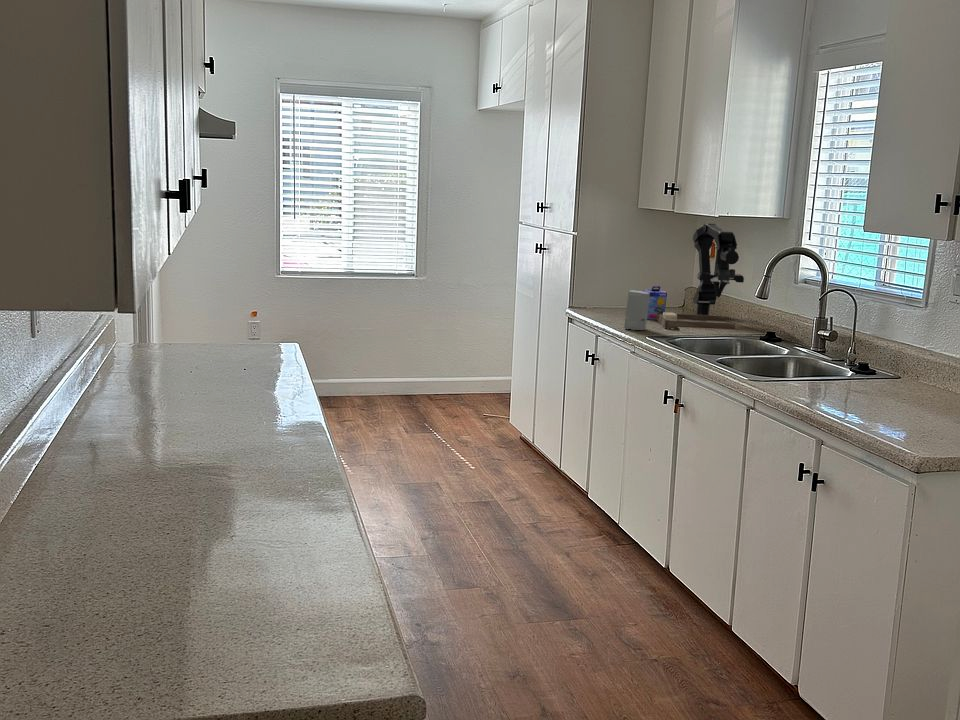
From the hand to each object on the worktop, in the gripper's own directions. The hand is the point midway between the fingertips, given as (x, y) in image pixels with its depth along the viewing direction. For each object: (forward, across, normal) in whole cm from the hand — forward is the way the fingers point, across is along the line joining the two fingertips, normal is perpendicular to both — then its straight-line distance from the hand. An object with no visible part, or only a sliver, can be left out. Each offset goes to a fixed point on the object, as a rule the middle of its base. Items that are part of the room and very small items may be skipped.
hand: (718, 297), depth 402 cm
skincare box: (+12, -37, -22) cm, 45 cm away
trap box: (+12, -10, -8) cm, 17 cm away
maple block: (+10, -21, -9) cm, 25 cm away
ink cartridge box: (+12, -26, +7) cm, 30 cm away
